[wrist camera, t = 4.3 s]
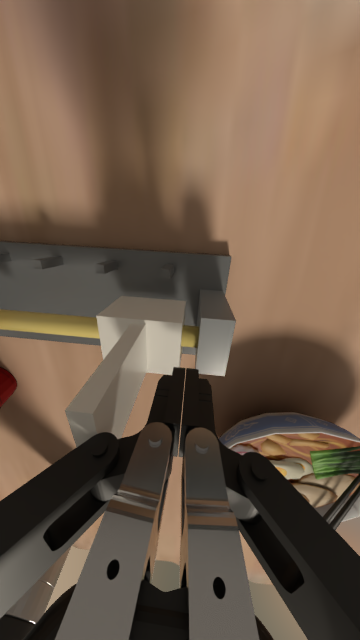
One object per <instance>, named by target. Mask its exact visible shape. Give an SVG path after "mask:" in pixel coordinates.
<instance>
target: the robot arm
mask: <svg viewBox="0 0 360 640" xmlns="http://www.w3.org/2000/svg"><path fill="white" fill-rule="evenodd" d="M184 380H185V368H180V367H173V372H172V376H171V375H163V376H162V377H161V379H160V380H159V381H158V385H157V389H156V392H155V396H154V399H153V403H152V407H151V410H150V414H149V418H148V421H147V424H146V425H145V427H144V428H143V429H142V430H141V431H140V432H139V433H137V434H135V435H133V436H129V437H125V438H120V439H117V438H116V436H115V435H113V434H112V433H109V432H102V433H98V434H96V435H94V436H93V437H91V438H90V439H88V440H87V441H85V442H84V443H82V444H81V445H80V446H78V447H77V448H75V449H74V450H73V451H71V452H70V453H68V454H67V455H65V456H64V457H63V458H61V459H60V460H58V461H57V462H55V463H54V464H53V465H51V466H50V467H48V468H47V469H45V470H44V471H43V472H41V473H40V474H38V475H37V476H36V477H34V478H33V479H31V480H30V481H28V482H27V483H26V484H24V485H23V486H21V487H20V488H18V489H17V490H16V491H14V492H13V493H11V494H10V495H8V496H7V497H6V498H4V499H3V500H1V501H0V640H273V638H272V636H271V635H270V633H269V632H268V630H267V629H266V628H265V626H264V625H263V624H262V622H261V621H260V620H259V619H258V618H257V617H256V616H255V614H254V609H253V604H252V599H251V593H250V588H249V582H248V577H247V572H246V566H245V561H244V556H243V550H242V545H241V540H240V535H239V531H240V532H241V534H242V535H243V537H244V539H245V540H246V542H247V543H248V545H249V547H250V548H251V550H252V551H253V553H254V555H255V556H256V558H257V559H258V561H259V562H260V564H261V566H262V567H263V569H264V570H265V572H266V574H267V575H268V577H269V578H270V580H271V582H272V583H273V585H274V586H275V588H276V590H277V591H278V593H279V594H280V596H281V597H282V599H283V601H284V602H285V604H286V605H287V607H288V609H289V610H290V611H291V613H292V615H293V616H294V618H295V620H296V621H297V623H298V625H299V626H300V627H301V629H302V631H303V632H304V634H305V635H306V637H307V639H308V640H360V556H359V555H358V554H357V553H356V552H355V551H354V550H353V549H352V548H351V547H350V546H349V545H348V544H347V542H346V541H345V540H344V539H343V538H342V537H341V536H340V535H339V534H338V533H337V532H336V531H335V530H334V529H333V528H332V527H331V525H330V524H329V523H328V522H327V521H326V520H325V519H324V518H323V517H322V516H321V515H320V514H319V513H318V512H317V511H316V510H315V509H314V507H313V506H312V505H311V504H310V503H309V502H308V501H307V500H306V499H305V498H304V497H303V496H302V495H301V494H300V493H299V492H298V490H297V489H296V488H295V487H294V486H293V485H292V484H291V483H290V482H289V481H288V480H287V479H286V478H285V477H284V476H283V475H282V474H281V472H280V471H279V470H278V469H277V468H276V467H275V466H274V465H273V464H272V463H271V462H270V461H269V460H268V459H267V458H266V457H265V456H263V455H261V454H259V453H257V452H247V453H245V454H243V455H241V454H239V453H237V452H235V451H233V450H231V449H229V448H227V447H226V446H224V445H223V444H222V443H221V441H220V440H219V439H218V437H217V435H216V432H215V426H214V414H213V403H212V391H211V385H210V384H209V382H208V380H207V379H199V369H190V368H187V369H186V380H185V391H184ZM183 391H184V402H183ZM182 402H183V414H182V425H181V437H180V448H179V457H183V464H182V475H181V545H180V587H179V589H176V590H173V591H169V592H163V591H161V590H159V589H158V588H156V587H155V586H153V585H152V584H151V582H152V576H153V571H154V565H155V559H156V553H157V546H158V538H159V532H160V527H161V521H162V516H163V510H164V505H165V499H166V494H167V488H168V483H169V477H170V474H171V470H172V461H173V456H176V457H177V455H178V444H179V433H180V423H181V412H182ZM104 512H105V513H104ZM103 513H104V516H103V518H102V521H101V524H100V526H99V529H98V531H97V534H96V536H95V539H94V541H93V544H92V546H91V549H90V552H89V554H88V557H87V559H86V562H85V564H84V567H83V570H82V572H81V575H80V577H79V580H78V582H77V584H75V585H74V586H72V587H71V588H70V589H68V590H67V591H66V592H65V593H63V594H62V595H61V596H60V597H59V598H58V599H57V600H56V601H55V602H54V603H53V604H52V605H51V606H50V607H49V609H48V610H47V611H46V612H45V610H46V607H47V605H48V602H49V600H50V597H51V595H52V592H53V590H54V587H55V585H56V582H57V580H58V578H59V575H60V572H61V570H62V568H63V565H64V563H65V560H66V558H67V556H68V553H69V550H70V548H71V546H72V545H73V544H74V543H75V541H76V540H77V539H78V538H79V537H80V536H81V535H82V534H83V533H84V532H85V531H86V530H87V529H88V528H89V527H90V526H91V525H92V524H93V523H94V522H95V521H96V520H97V519H98V518H99V517H100V516H101V515H102V514H103ZM44 612H45V613H44Z"/></svg>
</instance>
